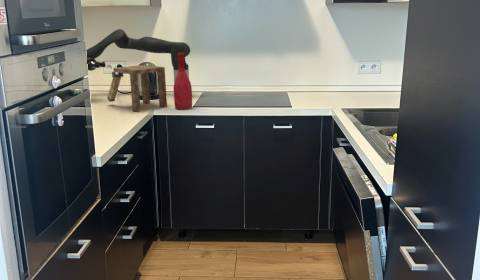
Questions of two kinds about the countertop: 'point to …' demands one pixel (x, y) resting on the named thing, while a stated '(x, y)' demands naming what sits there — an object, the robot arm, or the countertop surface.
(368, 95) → the countertop surface
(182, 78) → the red bottle
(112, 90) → the oak leg
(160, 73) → the walnut stool
